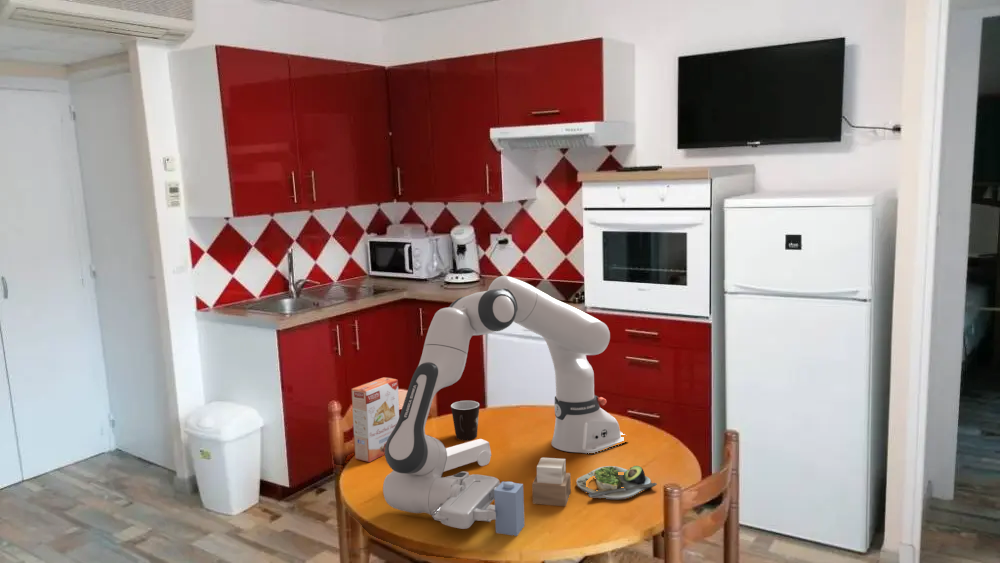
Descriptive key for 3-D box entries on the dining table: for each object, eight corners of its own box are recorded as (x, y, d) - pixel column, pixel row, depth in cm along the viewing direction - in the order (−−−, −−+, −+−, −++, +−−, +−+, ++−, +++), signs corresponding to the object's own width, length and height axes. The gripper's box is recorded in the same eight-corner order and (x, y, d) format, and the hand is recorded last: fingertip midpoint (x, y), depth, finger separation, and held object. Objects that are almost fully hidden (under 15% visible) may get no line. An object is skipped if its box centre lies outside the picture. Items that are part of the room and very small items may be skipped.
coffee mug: (464, 430, 234) (462, 399, 232) (486, 434, 229) (485, 403, 227) (440, 441, 225) (438, 409, 223) (462, 446, 220) (461, 414, 218)
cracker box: (370, 463, 210) (365, 391, 207) (354, 459, 213) (349, 388, 210) (402, 447, 221) (398, 378, 218) (386, 443, 225) (382, 376, 221)
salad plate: (616, 513, 175) (615, 494, 174) (559, 491, 188) (559, 474, 187) (664, 487, 188) (664, 470, 187) (608, 468, 201) (607, 452, 200)
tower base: (539, 489, 188) (538, 455, 187) (570, 492, 186) (570, 457, 185) (532, 503, 181) (531, 468, 179) (565, 506, 179) (564, 470, 177)
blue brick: (503, 522, 172) (502, 478, 170) (524, 525, 170) (523, 480, 168) (495, 532, 167) (494, 486, 165) (516, 536, 165) (515, 489, 164)
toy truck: (415, 489, 192) (414, 455, 191) (401, 481, 197) (399, 447, 196) (492, 463, 207) (491, 431, 206) (477, 456, 213) (476, 425, 211)
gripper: (427, 504, 163) (486, 512, 158) (465, 468, 182) (519, 474, 177) (428, 531, 164) (487, 540, 159) (466, 492, 183) (519, 500, 178)
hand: (504, 505), depth 168 cm, fingers open, 8 cm apart
